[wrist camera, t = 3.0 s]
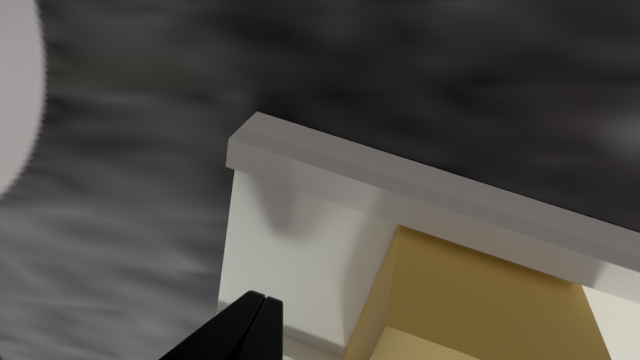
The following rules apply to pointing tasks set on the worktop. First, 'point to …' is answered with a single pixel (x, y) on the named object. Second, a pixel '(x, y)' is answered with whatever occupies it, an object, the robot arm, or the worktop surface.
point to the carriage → (470, 308)
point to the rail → (380, 227)
